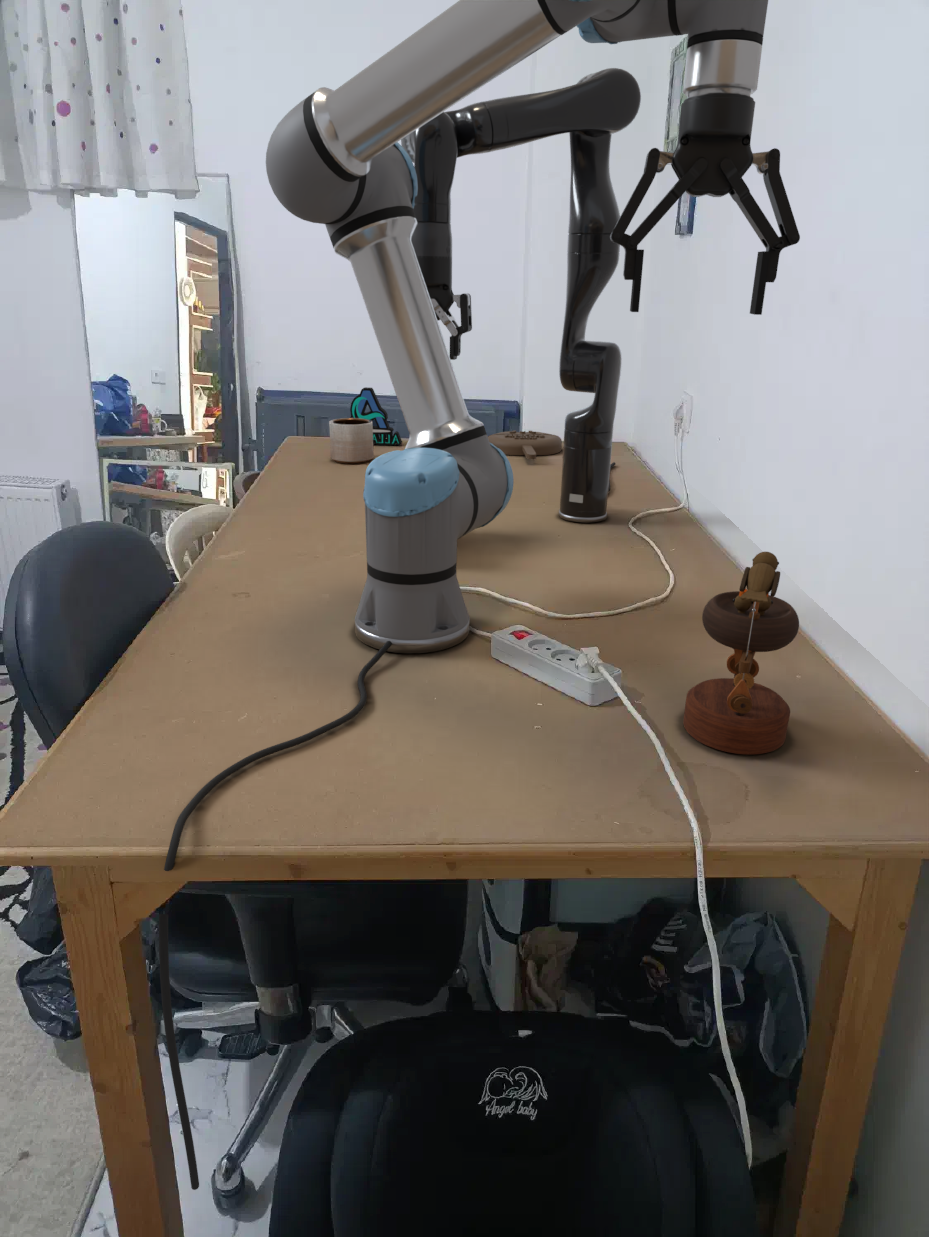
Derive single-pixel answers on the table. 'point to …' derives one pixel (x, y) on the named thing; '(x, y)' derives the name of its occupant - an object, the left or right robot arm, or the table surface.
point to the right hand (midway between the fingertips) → (429, 358)
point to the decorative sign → (374, 417)
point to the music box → (744, 666)
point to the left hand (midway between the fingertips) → (694, 313)
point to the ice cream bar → (526, 443)
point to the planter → (351, 440)
